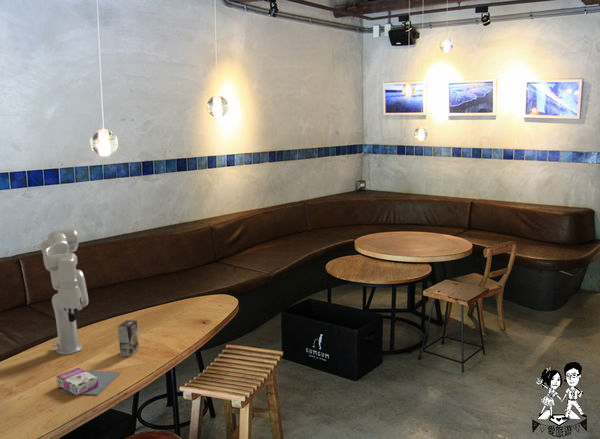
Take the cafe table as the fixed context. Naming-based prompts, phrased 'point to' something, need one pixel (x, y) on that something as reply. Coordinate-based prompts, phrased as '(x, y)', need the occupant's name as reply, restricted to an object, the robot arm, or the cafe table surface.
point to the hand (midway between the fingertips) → (72, 320)
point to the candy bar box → (77, 381)
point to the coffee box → (128, 338)
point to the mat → (99, 381)
